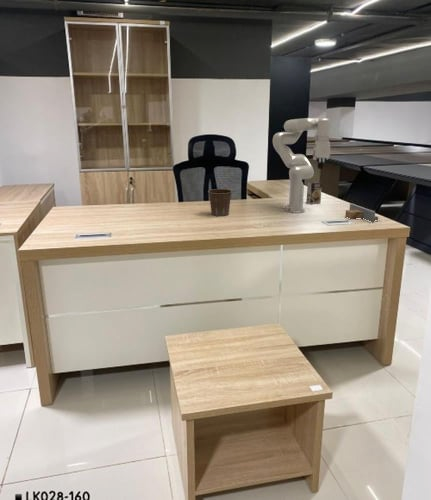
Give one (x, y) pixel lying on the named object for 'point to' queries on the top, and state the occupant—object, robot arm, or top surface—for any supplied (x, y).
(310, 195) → the coffee box
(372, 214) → the board
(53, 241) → the top surface
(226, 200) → the plant pot
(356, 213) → the walnut block
